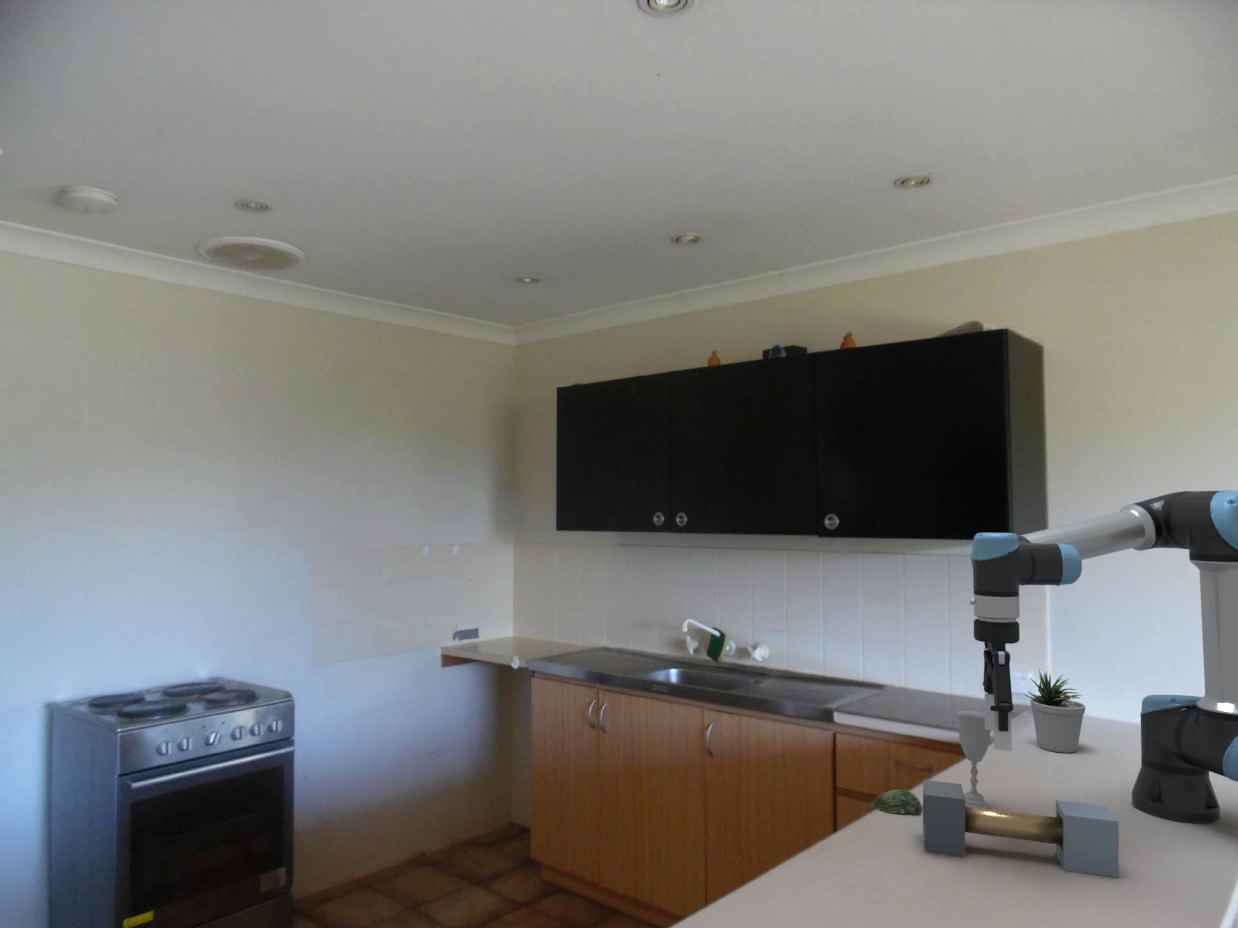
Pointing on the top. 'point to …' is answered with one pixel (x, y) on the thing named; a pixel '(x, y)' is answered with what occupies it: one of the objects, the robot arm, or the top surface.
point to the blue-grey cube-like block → (1088, 839)
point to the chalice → (973, 749)
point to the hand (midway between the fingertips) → (997, 739)
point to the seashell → (898, 803)
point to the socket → (943, 818)
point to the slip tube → (1014, 825)
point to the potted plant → (1056, 716)
